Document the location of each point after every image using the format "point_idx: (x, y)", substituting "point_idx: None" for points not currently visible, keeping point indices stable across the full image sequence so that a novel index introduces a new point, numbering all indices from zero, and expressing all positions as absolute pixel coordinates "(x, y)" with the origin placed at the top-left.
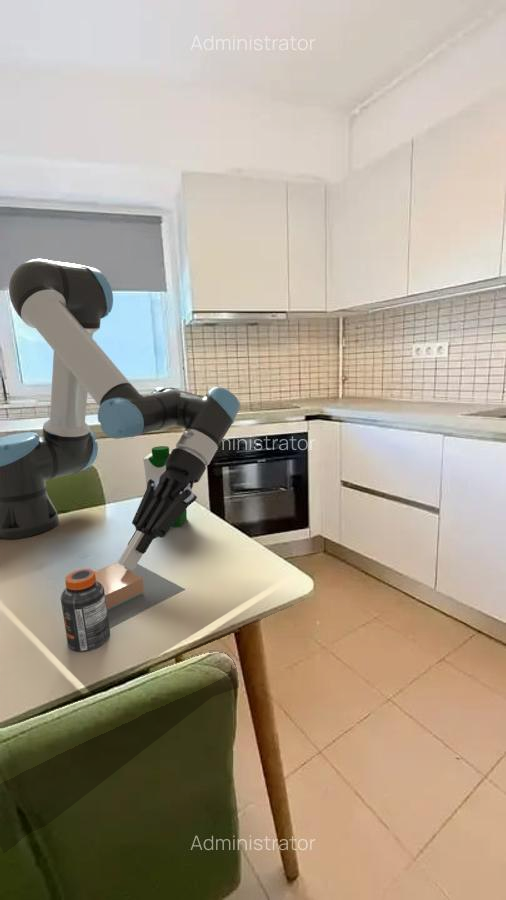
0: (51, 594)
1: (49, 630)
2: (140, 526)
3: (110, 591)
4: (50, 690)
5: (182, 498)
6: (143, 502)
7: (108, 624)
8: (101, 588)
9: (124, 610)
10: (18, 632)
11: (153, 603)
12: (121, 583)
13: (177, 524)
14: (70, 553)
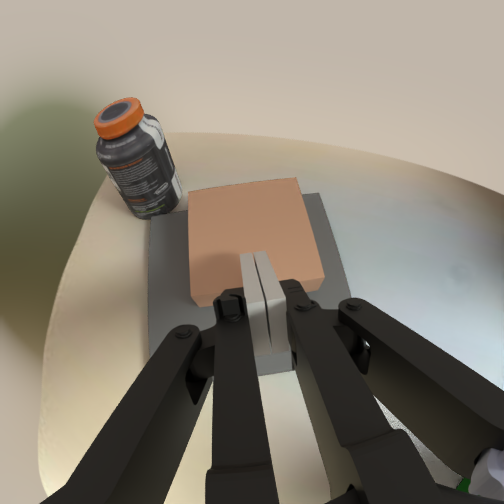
0: (341, 189)
1: (230, 167)
2: (290, 313)
3: (193, 221)
4: None
5: (55, 495)
6: (427, 362)
7: (128, 203)
8: (101, 154)
9: (175, 254)
10: (257, 143)
11: (153, 305)
12: (206, 249)
13: (465, 488)
14: (475, 256)
